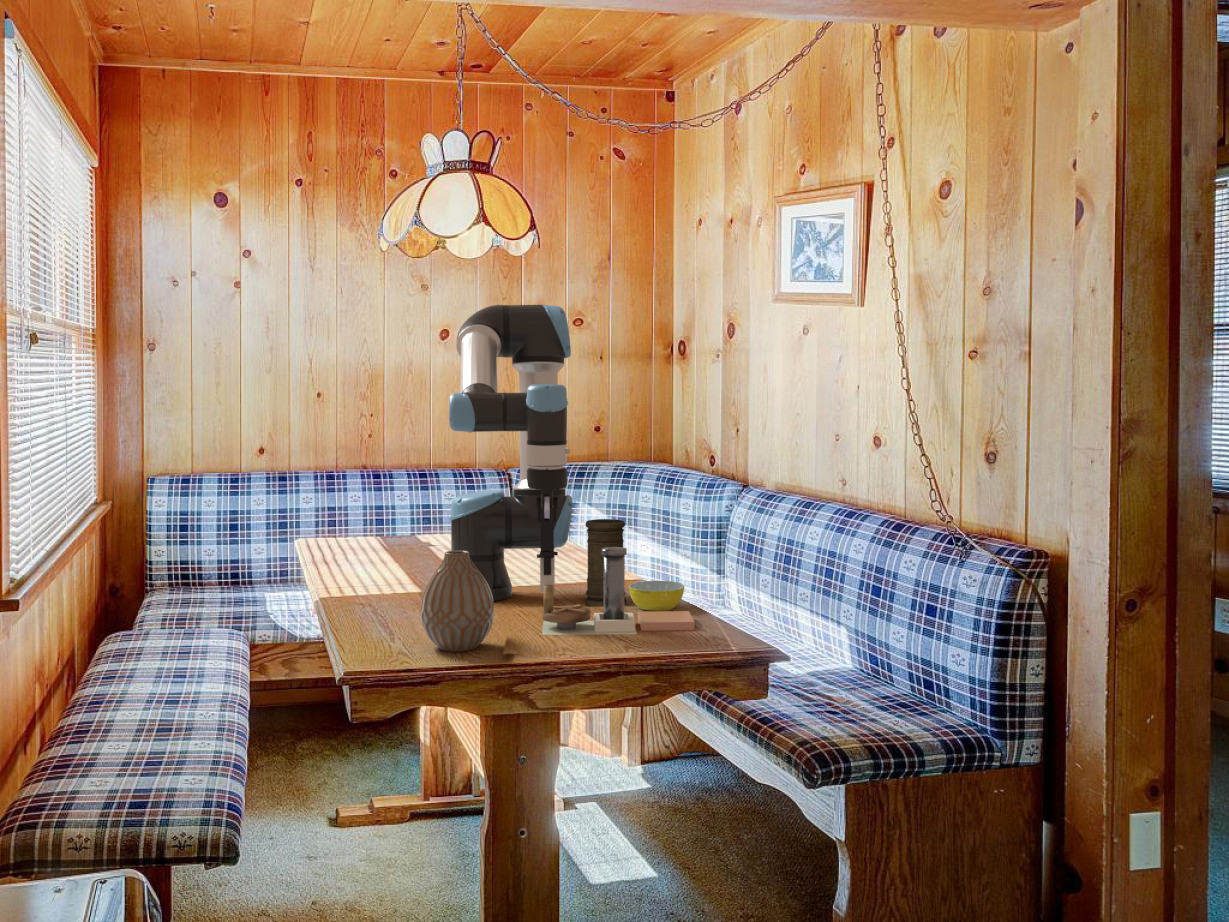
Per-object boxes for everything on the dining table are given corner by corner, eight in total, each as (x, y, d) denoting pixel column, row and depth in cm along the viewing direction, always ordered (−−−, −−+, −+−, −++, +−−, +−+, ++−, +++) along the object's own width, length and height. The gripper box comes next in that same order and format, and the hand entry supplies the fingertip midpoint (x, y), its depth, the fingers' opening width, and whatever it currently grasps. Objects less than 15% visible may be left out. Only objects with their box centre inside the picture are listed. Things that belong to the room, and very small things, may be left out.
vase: (407, 652, 212) (406, 555, 211) (443, 637, 225) (442, 545, 223) (473, 659, 208) (472, 559, 206) (506, 642, 220) (505, 548, 219)
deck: (542, 642, 220) (542, 624, 220) (543, 628, 232) (543, 611, 232) (637, 641, 221) (637, 623, 220) (633, 627, 233) (633, 610, 232)
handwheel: (571, 625, 220) (571, 590, 219) (533, 619, 225) (532, 585, 224) (599, 616, 227) (599, 583, 226) (562, 611, 232) (562, 578, 232)
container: (596, 609, 250) (596, 524, 249) (577, 602, 258) (577, 519, 257) (634, 605, 254) (634, 522, 253) (614, 598, 262) (614, 517, 261)
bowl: (643, 622, 237) (643, 592, 237) (619, 612, 248) (619, 582, 247) (694, 618, 242) (694, 588, 241) (668, 607, 252) (669, 579, 252)
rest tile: (641, 638, 224) (641, 622, 223) (638, 626, 234) (638, 611, 233) (694, 637, 224) (694, 621, 224) (688, 626, 234) (688, 611, 234)
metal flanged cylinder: (601, 630, 224) (601, 550, 223) (601, 624, 229) (600, 546, 227) (627, 629, 224) (627, 550, 223) (626, 624, 229) (626, 546, 228)
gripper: (567, 470, 217) (567, 598, 219) (567, 463, 230) (567, 583, 232) (525, 470, 216) (526, 598, 219) (528, 463, 229) (528, 584, 232)
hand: (547, 590), depth 225 cm, fingers closed
